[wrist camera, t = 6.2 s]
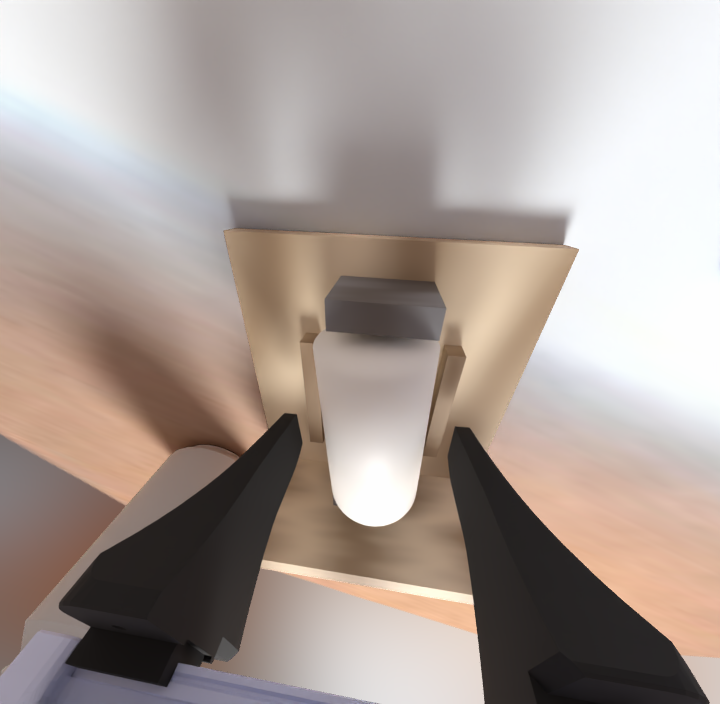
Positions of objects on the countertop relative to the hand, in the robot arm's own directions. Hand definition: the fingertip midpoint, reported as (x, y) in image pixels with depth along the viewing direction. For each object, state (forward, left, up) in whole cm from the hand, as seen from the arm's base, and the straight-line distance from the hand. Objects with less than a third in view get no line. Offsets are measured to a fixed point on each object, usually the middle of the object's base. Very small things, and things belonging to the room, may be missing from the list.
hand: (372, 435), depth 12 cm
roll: (0, 0, -3) cm, 3 cm away
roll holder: (0, 0, -4) cm, 4 cm away
